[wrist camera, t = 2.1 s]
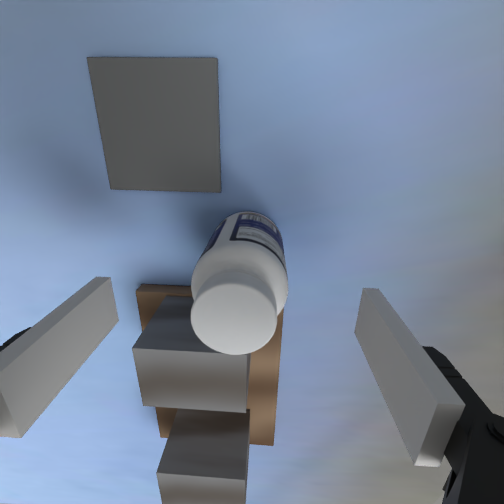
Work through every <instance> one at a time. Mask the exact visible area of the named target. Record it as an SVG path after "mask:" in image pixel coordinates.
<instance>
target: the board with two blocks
mask: <svg viewBox="0 0 504 504" xmlns="http://www.w3.org/2000/svg"><path fill="white" fill-rule="evenodd" d="M136 297H137V303H138V308H139V314H140V320H141V326H142V333H141V335H140V337H139V338H138V340H137V341H136V343H135V344H134V346H133V347H132V351H133V356H134V361H135V366H136V371H137V376H138V382H139V387H140V392H141V397H142V402H143V406H153V407H155V408H156V414H157V420H158V425H159V431H160V437H161V438H168V440H167V443H166V446H165V449H164V452H163V455H162V458H161V460H160V463H159V466H158V469H157V472H156V474H157V479H158V484H159V489H160V494H161V499H162V504H245V503H246V488H247V474H248V459H249V444H255V445H268V446H273V445H274V432H275V418H276V405H277V392H278V378H279V365H280V351H281V338H282V324H283V311H284V307H283V309H282V310H281V312H280V313H279V315H278V316H277V326H276V330H275V332H274V335H273V336H272V338H271V339H270V340H269V342H268V343H266V344H265V345H264V346H263V347H262V348H260V349H258V350H256V351H254V352H251V353H247V354H242V355H230V354H225V353H221V352H218V351H216V350H214V349H211V348H210V347H208V346H207V345H205V344H204V343H203V342H202V341H201V340H200V339H199V338H198V337H197V335H196V334H195V332H194V330H193V327H192V324H191V308H192V305H193V303H194V299H193V296H192V291H191V286H175V285H154V284H141V286H140V287H139V288H138V289H137V290H136Z"/></svg>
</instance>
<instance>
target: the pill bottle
mask: <svg viewBox="0 0 504 504" xmlns="http://www.w3.org/2000/svg"><path fill="white" fill-rule="evenodd" d="M191 291H192V296H193V299H194V303H193V305H192V308H191V324H192V327H193V330H194V332H195V334H196V335H197V337H198V338H199V339H200V340H201V341H202V342H203V343H204V344H205V345H207V346H208V347H210V348H211V349H214V350H216V351H218V352H221V353H225V354H230V355H242V354H247V353H251V352H254V351H256V350H258V349H260V348H262V347H263V346H264V345H265V344H266V343H268V342H269V340H270V339H271V338H272V336H273V335H274V332H275V330H276V326H277V316H278V315H279V313H280V312H281V310H282V309H283V307H284V305H285V303H286V300H287V296H288V278H287V271H286V263H285V257H284V249H283V242H282V237H281V234H280V232H279V230H278V228H277V227H276V225H275V224H274V223H273V222H272V221H271V220H270V219H268V218H267V217H265V216H264V215H261V214H259V213H255V212H239V213H235V214H233V215H231V216H229V217H227V218H226V219H225V220H223V221H222V222H221V223H220V224H219V226H218V227H217V228H216V230H215V232H214V234H213V235H212V237H211V239H210V241H209V243H208V244H207V246H206V248H205V250H204V252H203V253H202V255H201V257H200V259H199V260H198V262H197V264H196V267H195V269H194V272H193V275H192V280H191Z"/></svg>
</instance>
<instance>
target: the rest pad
mask: <svg viewBox="0 0 504 504" xmlns="http://www.w3.org/2000/svg"><path fill="white" fill-rule="evenodd" d="M87 62H88V67H89V73H90V78H91V84H92V89H93V95H94V100H95V106H96V111H97V117H98V122H99V128H100V133H101V139H102V144H103V150H104V155H105V161H106V166H107V172H108V177H109V183H110V188H111V189H113V190H147V191H181V192H215V193H220V192H221V163H220V125H219V87H218V59H217V58H139V57H87Z"/></svg>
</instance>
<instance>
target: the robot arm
mask: <svg viewBox="0 0 504 504" xmlns="http://www.w3.org/2000/svg"><path fill="white" fill-rule="evenodd" d="M118 321H119V319H118V314H117V309H116V304H115V299H114V294H113V288H112V283H111V278H110V277H95V278H94V279H93V280H91V281H90V282H89V283H88V284H86V285H85V286H84V287H82V288H81V289H80V290H79V291H77V292H76V293H75V294H74V295H72V296H71V297H70V298H68V299H67V300H66V301H65V302H63V303H62V304H61V305H60V306H58V307H57V308H56V309H54V310H53V311H52V312H51V313H49V314H48V315H47V316H46V317H44V318H43V319H42V320H40V321H39V322H38V323H37V324H35V325H34V326H33V327H29V328H27V329H25V330H23V331H21V332H19V333H17V334H15V335H14V336H13V337H11V338H10V339H9V340H7V341H6V342H5V343H3V346H0V437H12V438H22V437H23V435H24V434H25V433H26V432H27V431H28V429H29V428H30V427H31V426H32V425H33V423H34V422H35V421H36V420H37V419H38V417H39V416H40V415H41V414H42V413H43V411H44V410H45V409H46V408H47V407H48V405H49V404H50V403H51V402H52V401H53V399H54V398H55V397H56V396H57V395H58V393H59V392H60V391H61V390H62V389H63V387H64V386H65V385H66V384H67V383H68V381H69V380H70V379H71V378H72V376H73V375H74V374H75V373H76V372H77V370H78V369H79V368H80V367H81V366H82V364H83V363H84V362H85V361H86V360H87V358H88V357H89V356H90V355H91V354H92V352H93V351H94V350H95V349H96V348H97V346H98V345H99V344H100V343H101V342H102V340H103V339H104V338H105V337H106V336H107V334H108V333H109V332H110V331H111V330H112V328H113V327H114V326H115V325H116V324H117V322H118ZM354 333H355V335H356V337H357V339H358V341H359V344H360V346H361V348H362V350H363V352H364V355H365V357H366V359H367V361H368V364H369V366H370V368H371V370H372V372H373V375H374V377H375V379H376V381H377V383H378V386H379V388H380V390H381V392H382V394H383V397H384V399H385V401H386V403H387V406H388V408H389V410H390V412H391V414H392V417H393V419H394V421H395V423H396V425H397V428H398V430H399V432H400V434H401V437H402V439H403V441H404V443H405V445H406V448H407V450H408V452H409V454H410V456H411V459H412V461H413V463H414V465H417V466H431V467H439V466H440V464H441V461H442V459H443V457H444V455H445V456H446V458H447V460H448V462H449V463H450V465H451V467H452V470H451V472H450V474H449V476H448V478H447V481H446V483H445V485H444V487H443V489H442V490H444V491H445V494H444V498H443V502H442V504H504V417H501V416H499V415H496V414H493V413H492V412H491V411H490V410H489V408H488V407H487V406H486V405H485V404H484V402H483V401H482V400H481V399H480V398H479V396H478V395H477V394H476V393H475V391H474V390H473V389H472V388H471V387H470V385H469V384H468V383H467V382H466V381H465V379H462V376H461V375H460V373H459V372H458V371H457V370H456V369H455V367H454V366H453V365H452V364H451V362H450V361H449V360H448V359H447V358H446V356H444V355H443V354H442V353H440V352H439V351H438V350H436V349H435V348H433V347H425V346H421V345H420V343H419V342H418V341H417V339H416V338H415V337H414V335H413V334H412V333H411V331H410V330H409V329H408V327H407V326H406V325H405V323H404V322H403V321H402V319H401V318H400V317H399V315H398V314H397V313H396V311H395V310H394V309H393V307H392V306H391V305H390V303H389V302H388V301H387V299H386V298H385V297H384V295H383V294H382V293H381V291H380V290H379V289H376V288H363V291H362V296H361V301H360V306H359V311H358V317H357V322H356V327H355V332H354Z"/></svg>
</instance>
